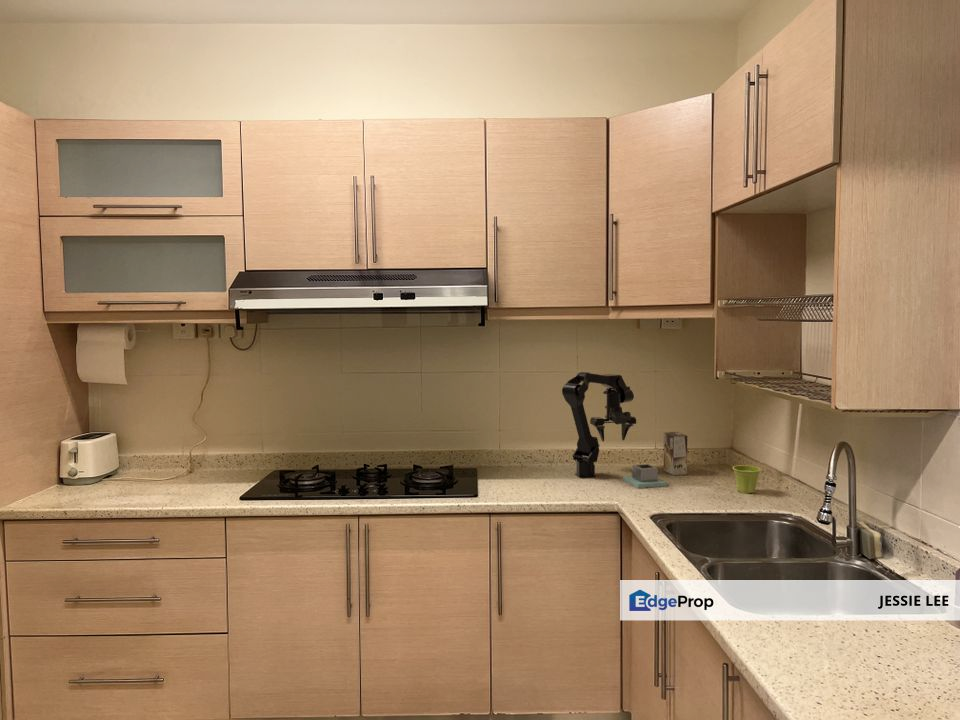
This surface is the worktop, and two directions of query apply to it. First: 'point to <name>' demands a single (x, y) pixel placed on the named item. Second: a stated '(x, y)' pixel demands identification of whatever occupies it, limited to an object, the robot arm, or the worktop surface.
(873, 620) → the worktop surface
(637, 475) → the link
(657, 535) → the worktop surface
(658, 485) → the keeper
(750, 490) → the plant pot
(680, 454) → the coffee box
